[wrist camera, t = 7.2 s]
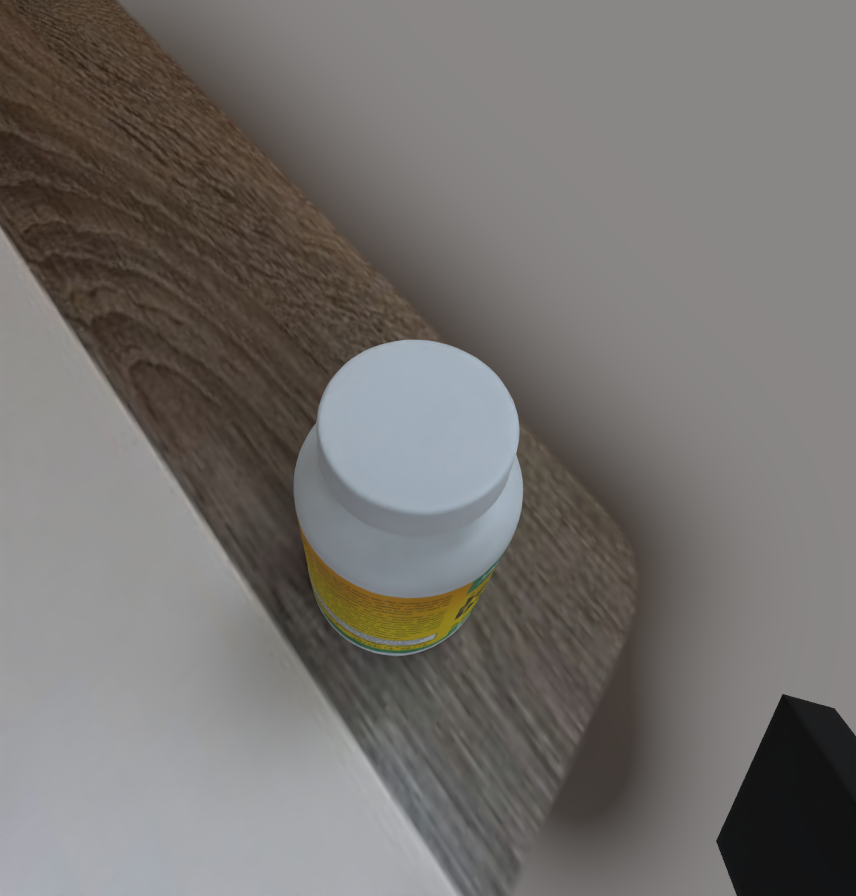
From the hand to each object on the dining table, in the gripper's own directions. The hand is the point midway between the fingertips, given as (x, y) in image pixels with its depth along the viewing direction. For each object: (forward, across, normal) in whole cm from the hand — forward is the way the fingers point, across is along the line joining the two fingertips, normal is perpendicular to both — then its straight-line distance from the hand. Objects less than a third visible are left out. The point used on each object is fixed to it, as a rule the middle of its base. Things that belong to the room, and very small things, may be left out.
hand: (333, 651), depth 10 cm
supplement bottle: (+11, 0, -4) cm, 11 cm away
